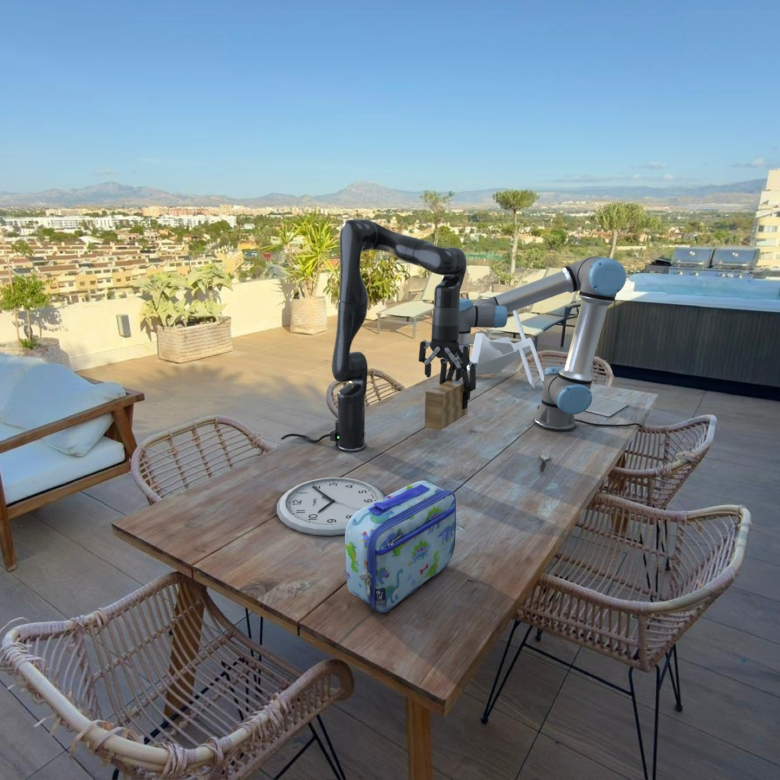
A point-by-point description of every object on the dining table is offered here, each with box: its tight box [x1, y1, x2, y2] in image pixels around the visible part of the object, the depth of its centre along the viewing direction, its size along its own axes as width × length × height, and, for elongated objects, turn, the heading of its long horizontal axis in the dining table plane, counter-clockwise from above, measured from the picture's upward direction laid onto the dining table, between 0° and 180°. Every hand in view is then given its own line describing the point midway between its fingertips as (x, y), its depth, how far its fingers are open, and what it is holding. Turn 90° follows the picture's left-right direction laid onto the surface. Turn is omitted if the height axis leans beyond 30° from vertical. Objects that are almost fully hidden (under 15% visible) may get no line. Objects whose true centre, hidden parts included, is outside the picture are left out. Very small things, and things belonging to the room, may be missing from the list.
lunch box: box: [344, 480, 457, 614], centre depth 109 cm, size 26×11×21 cm, turn 135°
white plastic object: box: [467, 310, 545, 390], centre depth 260 cm, size 37×45×31 cm
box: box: [424, 377, 469, 432], centre depth 183 cm, size 20×6×13 cm, turn 145°
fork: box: [540, 448, 551, 473], centre depth 170 cm, size 3×16×2 cm, turn 160°
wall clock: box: [276, 476, 386, 537], centre depth 142 cm, size 30×2×30 cm
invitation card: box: [584, 396, 629, 418], centre depth 226 cm, size 21×1×15 cm
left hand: (442, 378), depth 149 cm, fingers open, 8 cm apart
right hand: (456, 406), depth 190 cm, fingers closed on box, 6 cm apart
